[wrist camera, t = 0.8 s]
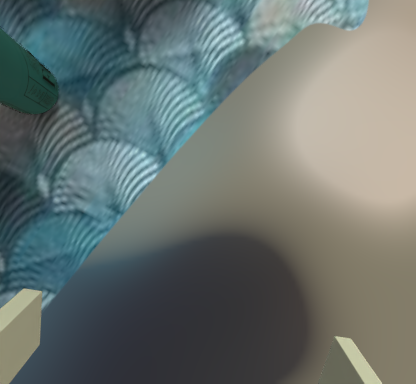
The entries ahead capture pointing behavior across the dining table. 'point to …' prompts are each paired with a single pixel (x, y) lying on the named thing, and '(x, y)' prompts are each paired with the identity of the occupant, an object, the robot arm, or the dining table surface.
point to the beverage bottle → (24, 79)
